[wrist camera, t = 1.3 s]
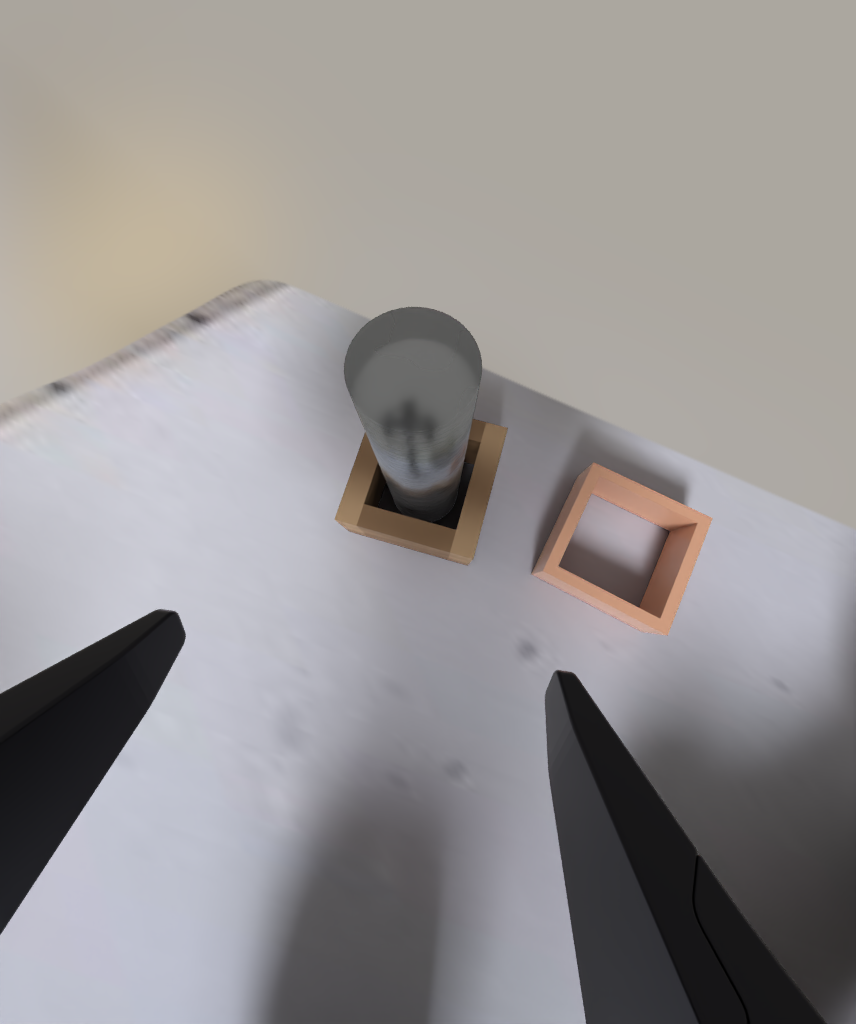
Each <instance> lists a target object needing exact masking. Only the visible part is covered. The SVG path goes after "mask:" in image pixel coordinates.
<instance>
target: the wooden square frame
mask: <svg viewBox="0 0 856 1024" xmlns="http://www.w3.org/2000/svg"><path fill="white" fill-rule="evenodd" d="M507 429H508V428H506V427H502V426H498V425H494V424H490V423H486V422H483V421H479V420H475V419H472V424H471V429H470V434H469V439H468V444H467V449H466V454H465V459H464V462H466V463H470V464H474V468H473V472H472V475H471V479H470V482H469V486H468V490H467V493H466V497H465V500H464V504H463V508H462V511H461V515H460V518H459V522H458V525H457V529H456V530H454V529H451V528H447V527H444V526H440V525H437V524H433V523H430V522H426V521H422V520H419V519H415V518H412V517H408V516H405V515H401V514H398V513H394V512H390V511H387V510H383V509H380V508H378V505H379V502H380V499H381V496H382V493H383V490H384V487H385V484H386V480H385V478H384V475H383V473H382V470H381V468H380V466H379V463H378V461H377V458H376V456H375V454H374V451H373V449H372V446H371V444H370V441H369V439H368V437H367V434H366V432H365V434H364V437H363V440H362V443H361V446H360V449H359V451H358V454H357V457H356V460H355V463H354V466H353V468H352V471H351V474H350V477H349V480H348V483H347V485H346V488H345V491H344V494H343V497H342V500H341V503H340V505H339V508H338V511H337V514H336V517H335V520H336V521H337V522H338V523H340V524H341V525H342V526H343V527H345V528H346V529H347V530H348V531H350V532H353V533H357V534H360V535H364V536H367V537H370V538H374V539H377V540H381V541H384V542H388V543H391V544H395V545H398V546H402V547H405V548H409V549H412V550H416V551H419V552H422V553H426V554H429V555H433V556H436V557H440V558H443V559H447V560H450V561H454V562H457V563H461V564H464V565H468V564H469V563H470V562H471V561H472V560H473V558H474V554H475V550H476V546H477V543H478V539H479V535H480V531H481V527H482V524H483V520H484V516H485V512H486V509H487V505H488V501H489V497H490V493H491V490H492V486H493V482H494V478H495V474H496V471H497V467H498V463H499V459H500V456H501V452H502V448H503V444H504V440H505V437H506V433H507Z"/></svg>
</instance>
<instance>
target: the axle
mask: <svg viewBox="0 0 856 1024" xmlns="http://www.w3.org/2000/svg"><path fill="white" fill-rule="evenodd" d="M481 373H482V360H481V355H480V351H479V348H478V346H477V343H476V341H475V339H474V338H473V336H472V335H471V333H470V332H469V331H468V330H467V329H466V328H465V327H464V326H463V325H462V324H461V323H460V322H459V321H457V320H456V319H454V318H452V317H451V316H449V315H447V314H445V313H443V312H440V311H437V310H434V309H429V308H422V307H406V308H399V309H396V310H391V311H389V312H386V313H383V314H382V315H380V316H378V317H376V318H374V319H373V320H371V321H370V322H368V323H367V324H366V325H365V326H364V327H363V328H362V329H361V330H360V331H359V332H358V333H357V334H356V336H355V337H354V339H353V340H352V342H351V344H350V346H349V348H348V351H347V354H346V358H345V363H344V375H345V381H346V385H347V388H348V391H349V393H350V396H351V398H352V400H353V403H354V405H355V408H356V410H357V412H358V415H359V417H360V420H361V422H362V425H363V427H364V429H365V432H366V434H367V437H368V439H369V441H370V444H371V446H372V449H373V451H374V454H375V456H376V458H377V461H378V463H379V466H380V468H381V470H382V473H383V475H384V478H385V480H386V483H387V485H388V487H389V490H390V492H391V495H392V497H393V499H394V502H395V504H396V506H397V508H398V509H399V511H400V512H401V513H402V514H403V515H405V516H408V517H412V518H415V519H419V520H422V521H426V522H434V521H437V520H439V519H441V518H443V517H444V516H446V515H447V514H448V513H449V512H450V511H451V509H452V508H453V506H454V504H455V502H456V498H457V494H458V489H459V484H460V479H461V474H462V469H463V464H464V459H465V454H466V449H467V444H468V439H469V434H470V429H471V424H472V419H473V414H474V409H475V404H476V400H477V395H478V390H479V385H480V380H481Z"/></svg>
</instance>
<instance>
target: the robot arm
mask: <svg viewBox="0 0 856 1024" xmlns="http://www.w3.org/2000/svg"><path fill="white" fill-rule="evenodd" d="M185 637H186V634H185V630H184V628H183V625H182V622H181V620H180V617H179V615H178V613H177V612H175V611H171V610H164V609H158V610H155V611H153V612H151V613H149V614H148V615H146V616H144V617H142V618H140V619H138V620H136V621H135V622H133V623H131V624H129V625H127V626H125V627H123V628H122V629H120V630H118V631H116V632H114V633H112V634H110V635H109V636H107V637H105V638H103V639H101V640H99V641H97V642H96V643H94V644H92V645H90V646H88V647H86V648H84V649H83V650H81V651H79V652H77V653H75V654H73V655H71V656H70V657H68V658H66V659H64V660H62V661H60V662H58V663H57V664H55V665H53V666H51V667H49V668H47V669H45V670H44V671H42V672H40V673H38V674H36V675H34V676H32V677H31V678H29V679H27V680H25V681H23V682H21V683H19V684H18V685H16V686H14V687H12V688H10V689H8V690H6V691H5V692H3V693H1V694H0V935H1V933H2V932H3V930H4V929H5V927H6V925H7V924H8V922H9V921H10V919H11V918H12V916H13V915H14V913H15V912H16V910H17V909H18V907H19V906H20V904H21V903H22V901H23V900H24V898H25V897H26V895H27V893H28V892H29V890H30V889H31V887H32V886H33V884H34V883H35V881H36V880H37V878H38V877H39V875H40V874H41V872H42V871H43V869H44V868H45V866H46V865H47V863H48V862H49V860H50V858H51V857H52V855H53V854H54V852H55V851H56V849H57V848H58V846H59V845H60V843H61V842H62V840H63V839H64V837H65V836H66V834H67V833H68V831H69V830H70V828H71V826H72V825H73V823H74V822H75V820H76V819H77V817H78V816H79V814H80V813H81V811H82V810H83V808H84V807H85V805H86V804H87V802H88V801H89V799H90V798H91V796H92V794H93V793H94V791H95V790H96V788H97V787H98V785H99V784H100V782H101V781H102V779H103V778H104V776H105V775H106V773H107V772H108V770H109V769H110V767H111V766H112V764H113V763H114V761H115V759H116V758H117V756H118V755H119V753H120V752H121V750H122V749H123V747H124V746H125V744H126V743H127V741H128V740H129V738H130V737H131V735H132V734H133V732H134V731H135V729H136V727H137V726H138V724H139V723H140V721H141V720H142V718H143V717H144V715H145V714H146V712H147V710H148V709H149V707H150V706H151V704H152V702H153V700H154V699H155V697H156V695H157V693H158V691H159V690H160V688H161V686H162V684H163V682H164V680H165V678H166V676H167V675H168V673H169V671H170V669H171V667H172V665H173V663H174V661H175V660H176V658H177V656H178V654H179V652H180V650H181V648H182V646H183V644H184V642H185ZM545 712H546V733H547V754H548V771H549V779H550V787H551V793H552V800H553V807H554V813H555V820H556V826H557V833H558V840H559V846H560V853H561V859H562V866H563V873H564V879H565V886H566V893H567V899H568V906H569V912H570V919H571V926H572V932H573V939H574V945H575V952H576V959H577V965H578V972H579V978H580V985H581V992H582V998H583V1005H584V1011H585V1018H586V1024H827V1023H826V1022H825V1021H824V1020H823V1018H822V1017H821V1016H820V1014H819V1013H818V1012H817V1011H816V1009H815V1008H814V1007H813V1006H812V1004H811V1003H810V1002H809V1000H808V999H807V998H806V997H805V995H804V994H803V993H802V992H801V990H800V989H799V988H798V986H797V985H796V984H795V983H794V981H793V980H792V979H791V978H790V976H789V975H788V974H787V972H786V971H785V970H784V969H783V967H782V966H781V965H780V963H779V962H778V961H777V959H776V958H775V957H774V956H773V954H772V953H771V952H770V950H769V949H768V948H767V946H766V945H765V944H764V942H763V941H762V940H761V938H760V937H759V936H758V935H757V933H756V932H755V931H754V929H753V928H752V927H751V925H750V924H749V923H748V921H747V920H746V919H745V917H744V916H743V914H742V913H741V912H740V910H739V909H738V908H737V906H736V905H735V903H734V902H733V901H732V899H731V898H730V896H729V895H728V894H727V892H726V891H725V889H724V888H723V887H722V885H721V884H720V882H719V881H718V880H717V878H716V877H715V875H714V874H713V872H712V871H711V869H710V868H709V867H708V865H707V864H706V862H705V861H704V859H703V858H702V856H701V855H697V850H696V848H695V847H694V845H693V844H692V842H691V841H690V839H689V838H688V836H687V835H686V834H685V832H684V831H683V829H682V828H681V826H680V825H679V823H678V822H677V821H676V819H675V818H674V816H673V815H672V813H671V812H670V810H669V809H668V808H667V806H666V805H665V803H664V802H663V800H662V799H661V797H660V796H659V795H658V793H657V792H656V790H655V789H654V787H653V786H652V784H651V783H650V782H649V780H648V779H647V777H646V776H645V774H644V773H643V771H642V770H641V769H640V767H639V766H638V764H637V763H636V761H635V760H634V758H633V757H632V756H631V754H630V753H629V751H628V750H627V748H626V747H625V745H624V744H623V743H622V741H621V740H620V738H619V737H618V735H617V734H616V732H615V731H614V730H613V728H612V727H611V725H610V724H609V722H608V721H607V719H606V718H605V717H604V715H603V714H602V712H601V711H600V709H599V708H598V706H597V705H596V704H595V702H594V701H593V699H592V698H591V696H590V695H589V693H588V692H587V691H586V689H585V688H584V686H583V685H582V683H581V682H580V680H579V679H578V678H577V676H576V675H575V674H574V673H572V672H567V671H561V670H556V671H555V672H554V673H553V676H552V678H551V680H550V683H549V685H548V688H547V690H546V694H545Z"/></svg>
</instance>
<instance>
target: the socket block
mask: <svg viewBox="0 0 856 1024" xmlns="http://www.w3.org/2000/svg"><path fill="white" fill-rule="evenodd" d="M591 494H594V495H596V496H598V497H600V498H602V499H604V500H606V501H608V502H611V503H613V504H615V505H617V506H619V507H621V508H623V509H625V510H627V511H629V512H631V513H633V514H635V515H637V516H640V517H642V518H644V519H646V520H648V521H650V522H652V523H654V524H656V525H658V526H660V527H662V528H664V529H666V530H669V531H670V533H669V535H668V537H667V540H666V542H665V545H664V547H663V550H662V552H661V555H660V557H659V560H658V562H657V565H656V567H655V569H654V572H653V574H652V577H651V579H650V582H649V584H648V587H647V589H646V592H645V594H644V597H643V599H642V602H641V604H640V606H639V608H638V607H636V606H634V605H632V604H631V603H629V602H627V601H625V600H623V599H621V598H619V597H617V596H615V595H613V594H611V593H609V592H607V591H605V590H603V589H601V588H599V587H597V586H596V585H594V584H592V583H590V582H588V581H586V580H584V579H582V578H580V577H578V576H576V575H574V574H572V573H570V572H568V571H566V570H564V569H562V568H561V567H559V566H558V565H559V563H560V561H561V559H562V557H563V554H564V552H565V550H566V548H567V546H568V544H569V541H570V539H571V537H572V535H573V533H574V531H575V528H576V526H577V524H578V522H579V520H580V518H581V515H582V513H583V511H584V509H585V507H586V504H587V502H588V500H589V498H590V496H591ZM711 521H712V518H711V517H709V516H707V515H704V514H702V513H700V512H698V511H696V510H694V509H692V508H690V507H687V506H685V505H683V504H681V503H679V502H677V501H675V500H673V499H670V498H668V497H666V496H664V495H662V494H660V493H658V492H656V491H654V490H651V489H649V488H647V487H645V486H643V485H641V484H639V483H637V482H634V481H632V480H630V479H628V478H626V477H624V476H622V475H620V474H617V473H615V472H613V471H611V470H609V469H607V468H605V467H603V466H601V465H598V464H596V463H594V462H593V463H592V464H591V465H590V466H589V467H588V468H587V469H585V470H584V471H583V472H582V473H581V474H580V475H579V476H577V479H576V481H575V483H574V485H573V487H572V489H571V491H570V493H569V495H568V498H567V500H566V502H565V504H564V506H563V508H562V510H561V512H560V514H559V517H558V519H557V521H556V523H555V525H554V527H553V529H552V531H551V533H550V536H549V538H548V540H547V542H546V544H545V546H544V548H543V550H542V553H541V555H540V557H539V559H538V561H537V563H536V565H535V567H534V569H533V572H532V575H534V576H535V577H537V578H539V579H541V580H543V581H545V582H547V583H549V584H551V585H553V586H555V587H557V588H558V589H560V590H562V591H564V592H566V593H568V594H570V595H572V596H574V597H576V598H578V599H580V600H581V601H583V602H585V603H587V604H589V605H591V606H593V607H595V608H597V609H599V610H601V611H603V612H604V613H606V614H608V615H610V616H612V617H614V618H616V619H618V620H620V621H622V622H624V623H626V624H627V625H629V626H631V627H633V628H635V629H637V630H639V631H641V632H646V633H653V634H660V635H667V636H668V633H669V630H670V628H671V625H672V623H673V620H674V617H675V615H676V612H677V610H678V607H679V604H680V602H681V599H682V596H683V594H684V591H685V589H686V586H687V583H688V581H689V578H690V576H691V573H692V570H693V568H694V565H695V563H696V560H697V557H698V555H699V552H700V550H701V547H702V544H703V542H704V539H705V537H706V534H707V531H708V529H709V526H710V524H711Z"/></svg>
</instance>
